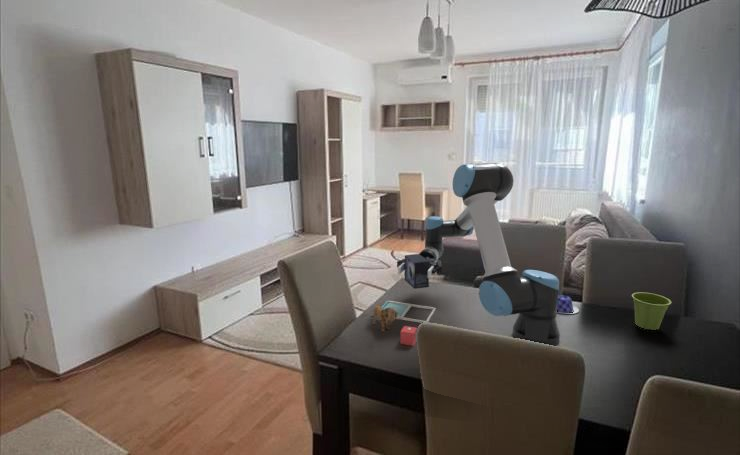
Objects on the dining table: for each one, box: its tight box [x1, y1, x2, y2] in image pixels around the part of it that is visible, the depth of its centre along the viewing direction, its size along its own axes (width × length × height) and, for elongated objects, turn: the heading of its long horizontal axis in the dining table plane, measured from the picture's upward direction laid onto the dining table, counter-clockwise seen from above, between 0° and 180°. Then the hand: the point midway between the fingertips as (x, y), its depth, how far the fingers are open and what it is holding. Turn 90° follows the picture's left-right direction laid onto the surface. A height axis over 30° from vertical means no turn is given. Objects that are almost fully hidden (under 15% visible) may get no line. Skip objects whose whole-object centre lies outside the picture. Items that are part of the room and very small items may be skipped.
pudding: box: [557, 294, 580, 315], centre depth 165 cm, size 12×12×5 cm
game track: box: [381, 300, 436, 324], centre depth 162 cm, size 21×14×1 cm
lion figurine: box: [369, 304, 399, 332], centre depth 149 cm, size 15×5×9 cm, turn 36°
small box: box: [404, 253, 430, 289], centre depth 157 cm, size 11×6×10 cm, turn 17°
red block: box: [400, 325, 418, 347], centre depth 138 cm, size 4×4×5 cm
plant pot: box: [631, 291, 672, 330], centre depth 148 cm, size 12×12×11 cm
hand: (413, 272), depth 153 cm, fingers closed on small box, 11 cm apart
